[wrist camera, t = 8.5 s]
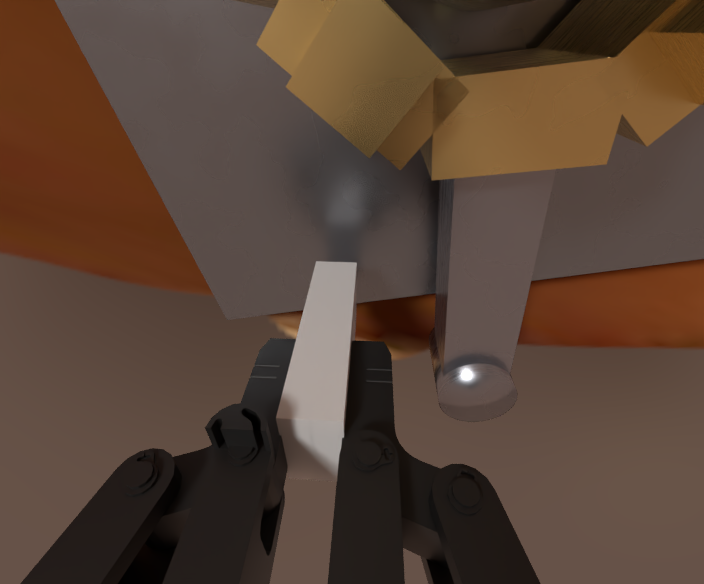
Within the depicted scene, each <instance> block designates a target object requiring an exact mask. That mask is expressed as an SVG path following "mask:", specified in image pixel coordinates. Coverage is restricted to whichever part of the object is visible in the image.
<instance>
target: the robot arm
mask: <svg viewBox="0 0 704 584" xmlns="http://www.w3.org/2000/svg"><path fill="white" fill-rule="evenodd" d="M356 285H357V263H355V262H322V261H316V264H315V268H314V272H313V276H312V280H311V283H310V287H309V291H308V295H307V299H306V303H305V307H304V311H303V315H302V318H301V322H300V326H299V330H298V334H297V338H296V339H276V338H275V339H274V338H271V339H270V340H269V341H268V342H267V343H266V344H265V345H264V346H263V347H262V348H261V349H260V351H259V354H258V357H257V359H256V362H255V367H254V368H253V370H252V373H251V378H250V379H249V382H248V384H247V387H246V390H245V393H244V395H243V398H242V401H241V403H240V404H233V405H231V406H228V407H226V408H224V409H222V410H220V411H219V412H218V413H217V414H216V415H214V416H213V417H212V418H211V420H210V421H209V423H208V424H207V426H206V427H205V429H206V431H207V433H208V436H209V438H210V440H211V443H212V445H211V446H209V447H207V448H204V449H201V450H198V451H194V452H190V453H187V454H183V455H179V456H175V457H172V455H171V454H169V453H168V452H166V451H165V450H163V449H154V448H153V449H149V450H144V451H140V452H138V453H137V454H135V455H133V456H131V457H129V458H128V459H127V460H125V461H124V462H123V463H122V464H121V465H120V466H119V467H118V468H117V469H116V470H115V471H114V472H113V474H112V475H111V476H110V477H109V478H108V480H107V481H106V482H105V483H104V484H103V486H102V487H101V488H100V489H99V490H98V492H97V493H96V494H95V495H94V497H93V498H92V499H91V500H90V501H89V502H88V504H87V505H86V506H85V507H84V508H83V510H82V511H81V512H80V513H79V514H78V516H77V517H76V518H75V519H74V520H73V522H72V523H71V524H70V525H69V526H68V527H67V529H66V530H65V531H64V532H63V533H62V535H61V536H60V537H59V538H58V539H57V541H56V542H55V543H54V544H53V546H52V547H51V548H50V549H49V550H48V551H47V553H46V554H45V555H44V556H43V557H42V559H41V560H40V561H39V563H38V564H37V565H36V566H35V567H34V568H33V569H32V571H31V572H30V573H29V574H28V576H27V577H26V578H25V579H24V580H23V581H22V583H21V584H269V583H270V577H271V572H272V567H273V562H274V556H275V551H276V546H277V540H278V535H279V530H280V524H281V519H282V514H283V509H284V502H285V501H284V499H285V495H284V490H283V488H284V483H285V478H286V473H288V477H289V479H304V480H322V481H337V486H336V497H335V509H334V519H333V530H332V531H333V532H332V542H331V553H330V564H329V575H328V576H329V577H328V584H405V581H404V561H403V548H405V549H407V550H409V551H411V552H413V553H416V554H417V555H420V556H421V559H422V562H423V566H424V569H425V573H426V576H427V580H428V583H429V584H540V582H539V580H538V578H537V576H536V573H535V571H534V569H533V567H532V565H531V563H530V561H529V559H528V557H527V555H526V553H525V551H524V549H523V547H522V545H521V543H520V541H519V539H518V537H517V534H516V532H515V530H514V528H513V526H512V524H511V522H510V520H509V518H508V516H507V514H506V512H505V510H504V508H503V506H502V504H501V502H500V500H499V498H498V495H497V493H496V491H495V489H494V488H493V486H492V485H491V483H490V482H489V481H488V479H487V478H486V477H485V476H484V475H482V474H481V473H480V472H479V471H478V470H476V469H475V468H472V467H470V466H467V465H464V464H451V465H448V466H446V467H444V468H442V469H440V468H437V467H434V466H432V465H430V464H427V463H425V462H422V461H420V460H418V459H416V458H414V457H412V456H411V455H409V454H408V453H407V452H406V451H405V450H404V449H403V447H402V446H401V445H400V443H399V441H398V439H397V437H396V433H395V427H394V405H393V384H392V361H391V353H390V352H389V350H388V348H387V346H386V345H385V343H384V342H375V341H355V328H356Z"/></svg>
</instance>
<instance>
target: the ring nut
mask: <svg viewBox="0 0 704 584" xmlns="http://www.w3.org/2000/svg"><path fill="white" fill-rule="evenodd" d="M234 1H239V2H244V3H249V4H254V5H259V6H264V7H269V8H274V11H273V13H272V15H271V17H270V19H269V21H268V23H267V25H266V27H265V28H264V30H263V32H262V34H261V36H260V38H259V40H258V42H257V44H256V45H257V46H258V47H259V48H260V49H261V50H262V51H264V52H265V53H266V54H267V55H268V56H269V57H271V58H272V59H273V60H274V61H275V62H276V63H277V64H279V65H280V66H281V67H282V68H283V69H284V70H285V71H287V72H288V73H289V74H290V75H291V76H292V77H291V79H290V80H289V82H288V84H287V85H286V88H287V89H288V90H290V91H291V92H292V93H293V94H294V95H295V96H297V97H298V98H299V99H300V100H301V101H303V102H304V103H305V104H306V105H307V106H308V107H310V108H311V109H312V110H313V111H314V112H315V113H317V114H318V115H319V116H320V117H321V118H322V119H324V120H325V121H326V122H327V123H328V124H329V125H331V126H332V127H333V128H334V129H335V130H337V131H338V132H339V133H340V134H341V135H342V136H344V137H345V138H346V139H347V140H348V141H349V142H351V143H352V144H353V145H354V146H355V147H356V148H358V149H359V150H360V151H361V152H362V153H363V154H365V155H366V156H367V157H368V158H369V159H370V157H371V156H372V155H373V154H374V152H375V151H376V150H377V151H378V152H380V153H381V154H382V155H383V156H384V157H385V158H386V159H388V160H389V161H390V162H391V163H392V164H393V165H394V166H396V167H397V168H398V169H399V170H401V169H402V168H403V167H404V166H405V165H406V163H407V162H408V161H409V160H410V159H411V158H412V157H413V156H414V154H415V153H416V152H417V151H418V150H419V149H420V150H421V153H422V156H423V158H424V161H425V164H426V166H427V169H428V172H429V175H430V177H431V180H439V210H438V241H437V272H436V302H435V327H434V328H433V330H432V331H431V333H430V336H429V347H430V352H431V358H432V365H433V371H434V377H435V382H436V388H437V394H438V400H439V405H440V408H441V409H442V411H443V412H444V413H445V414H447V415H448V416H450V417H452V418H454V419H457V420H461V421H468V422H478V421H485V420H490V419H493V418H496V417H498V416H501V415H502V414H504V413H506V412H507V411H508V410H510V408H512V406H513V405H514V404H515V402H516V400H517V390H516V388H515V385H514V382H513V380H512V377H511V375H510V373H511V368H512V364H513V359H514V354H515V350H516V346H517V342H518V337H519V333H520V328H521V324H522V319H523V315H524V310H525V306H526V301H527V297H528V293H529V288H530V284H531V279H532V275H533V270H534V266H535V261H536V257H537V252H538V248H539V243H540V239H541V235H542V230H543V226H544V221H545V217H546V212H547V208H548V203H549V199H550V194H551V190H552V186H553V181H554V177H555V172H556V169H562V168H573V167H584V166H595V165H606V164H607V161H608V158H609V155H610V152H611V148H612V145H613V142H614V138H615V135H616V134H618V135H621V136H623V137H625V138H628V139H630V140H632V141H635V142H637V143H639V144H641V145H644V146H646V147H647V146H649V145H650V144H651V143H653V142H654V141H655V140H656V139H658V138H659V137H660V136H661V135H663V134H664V133H665V132H667V131H668V130H669V129H670V128H672V127H673V126H674V125H675V124H677V123H678V122H679V121H681V120H682V119H683V118H684V117H686V116H687V115H688V114H689V113H691V112H692V111H693V110H695V109H696V108H697V107H698V106H700V105H704V0H581V1H580V2H579V3H578V4H577V5H576V6H575V7H574V8H573V10H572V11H571V12H570V13H569V14H568V15H567V16H566V17H565V18H564V19H563V20H562V21H561V22H560V24H559V25H558V26H557V27H556V28H555V29H554V30H553V31H552V32H551V33H550V34H549V35H548V37H547V38H546V39H545V40H544V41H543V42H542V43H541V44H540V45H539V46H538V47H537V48H533V49H525V50H517V51H509V52H501V53H494V54H486V55H478V56H470V57H462V58H455V59H447V60H440V59H439V58H438V57H437V56H436V55H435V54H434V53H433V52H432V51H431V50H430V49H429V48H428V47H427V46H426V45H425V43H424V42H423V41H422V40H421V39H420V38H419V37H418V36H417V35H416V34H415V33H414V32H413V31H412V30H411V28H410V27H409V26H408V25H407V24H406V23H405V22H404V21H403V20H402V19H401V18H400V17H399V16H398V15H397V13H396V12H395V11H394V10H393V9H392V8H391V7H390V6H389V5H388V4H387V3H386V2H385V1H384V0H234Z"/></svg>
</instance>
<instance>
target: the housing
mask: <svg viewBox="0 0 704 584" xmlns="http://www.w3.org/2000/svg"><path fill="white" fill-rule="evenodd" d="M384 1H385V2H386V3H387V4H388V5H389V6H390V7H391V8H392V9H393V10H394V11H395V12H396V13H397V15H398V16H399V17H400V18H401V19H402V20H403V21H404V22H405V23H406V24H407V25H408V26H409V27H410V28H411V30H412V31H413V32H414V33H415V34H416V35H417V36H418V37H419V38H420V39H421V40H422V41H423V42H424V43H425V45H426V46H427V47H428V48H429V49H430V50H431V51H432V52H433V53H434V54H435V55H436V56H437V57H438V58H439V59H440V60H447V59H455V58H462V57H470V56H478V55H486V54H494V53H501V52H509V51H517V50H525V49H533V48H537V47H538V46H539V45H540V44H541V43H542V42H543V41H544V40H545V39H546V38H547V37H548V35H549V34H550V33H551V32H552V31H553V30H554V29H555V28H556V27H557V26H558V25H559V24H560V22H561V21H562V20H563V19H564V18H565V17H566V16H567V15H568V14H569V13H570V12H571V11H572V10H573V8H574V7H575V6H576V5H577V4H578V3H579V2H580V1H581V0H384ZM55 2H56V4H57V6H58V7H59V9H60V11H61V13H62V15H63V17H64V19H65V20H66V22H67V24H68V26H69V28H70V30H71V31H72V33H73V35H74V37H75V39H76V41H77V43H78V44H79V46H80V48H81V50H82V52H83V54H84V56H85V57H86V59H87V61H88V63H89V65H90V67H91V69H92V70H93V72H94V74H95V76H96V78H97V80H98V81H99V83H100V85H101V87H102V89H103V91H104V93H105V94H106V96H107V98H108V100H109V102H110V104H111V106H112V107H113V109H114V111H115V113H116V115H117V117H118V119H119V120H120V122H121V124H122V126H123V128H124V130H125V132H126V133H127V135H128V137H129V139H130V141H131V143H132V144H133V146H134V148H135V150H136V152H137V154H138V156H139V157H140V159H141V161H142V163H143V165H144V167H145V169H146V170H147V172H148V174H149V176H150V178H151V180H152V182H153V183H154V185H155V187H156V189H157V191H158V193H159V194H160V196H161V198H162V200H163V202H164V204H165V206H166V207H167V209H168V211H169V213H170V215H171V217H172V219H173V220H174V222H175V224H176V226H177V228H178V230H179V232H180V233H181V235H182V237H183V239H184V241H185V243H186V244H187V246H188V248H189V250H190V252H191V254H192V256H193V257H194V259H195V261H196V263H197V265H198V267H199V269H200V270H201V272H202V274H203V276H204V278H205V280H206V282H207V283H208V285H209V287H210V289H211V291H212V293H213V295H214V296H215V298H216V300H217V302H218V304H219V305H220V307H221V309H222V311H223V313H224V315H225V317H226V319H227V320H230V319H238V318H246V317H253V316H261V315H269V314H277V313H285V312H293V311H300V310H304V307H305V303H306V299H307V295H308V291H309V287H310V283H311V280H312V276H313V272H314V268H315V264H316V261H322V262H355V263H357V285H356V303H363V302H371V301H378V300H386V299H394V298H402V297H410V296H417V295H425V294H433V293H436V272H437V241H438V210H439V180H431V177H430V175H429V172H428V169H427V166H426V164H425V161H424V158H423V156H422V153H421V150H420V149H419V150H418V151H417V152H416V153H415V154H414V156H413V157H412V158H411V159H410V160H409V161H408V162H407V163H406V165H405V166H404V167H403V168H402V169H401V170H399V169H398V168H397V167H396V166H394V165H393V164H392V163H391V162H390V161H389V160H388V159H386V158H385V157H384V156H383V155H382V154H381V153H380V152H378V151H377V150H376V151H375V152H374V154H373V155H372V156H371V157H370V159H369V158H368V157H367V156H366V155H365V154H363V153H362V152H361V151H360V150H359V149H358V148H356V147H355V146H354V145H353V144H352V143H351V142H349V141H348V140H347V139H346V138H345V137H344V136H342V135H341V134H340V133H339V132H338V131H337V130H335V129H334V128H333V127H332V126H331V125H329V124H328V123H327V122H326V121H325V120H324V119H322V118H321V117H320V116H319V115H318V114H317V113H315V112H314V111H313V110H312V109H311V108H310V107H308V106H307V105H306V104H305V103H304V102H303V101H301V100H300V99H299V98H298V97H297V96H295V95H294V94H293V93H292V92H291V91H290V90H288V89H287V88H286V85H287V84H288V82H289V80H290V79H291V77H292V76H291V75H290V74H289V73H288V72H287V71H285V70H284V69H283V68H282V67H281V66H280V65H279V64H277V63H276V62H275V61H274V60H273V59H272V58H271V57H269V56H268V55H267V54H266V53H265V52H264V51H262V50H261V49H260V48H259V47H258V46H257V45H256V44H257V42H258V40H259V38H260V36H261V34H262V32H263V30H264V28H265V27H266V25H267V23H268V21H269V19H270V17H271V15H272V13H273V11H274V8H269V7H264V6H259V5H254V4H249V3H244V2H239V1H234V0H55ZM698 259H704V105H700V106H698V107H697V108H696V109H695V110H693V111H692V112H691V113H689V114H688V115H687V116H686V117H684V118H683V119H682V120H681V121H679V122H678V123H677V124H675V125H674V126H673V127H672V128H670V129H669V130H668V131H667V132H665V133H664V134H663V135H661V136H660V137H659V138H658V139H656V140H655V141H654V142H653V143H651V144H650V145H649V146H647V147H646V146H644V145H641V144H639V143H637V142H635V141H632V140H630V139H628V138H625V137H623V136H621V135H618V134H616V135H615V138H614V142H613V145H612V148H611V152H610V155H609V158H608V161H607V164H606V165H595V166H584V167H573V168H562V169H556V172H555V177H554V181H553V186H552V190H551V194H550V199H549V203H548V208H547V212H546V217H545V221H544V226H543V230H542V235H541V239H540V243H539V248H538V252H537V257H536V261H535V266H534V270H533V275H532V279H531V281H534V280H542V279H550V278H558V277H566V276H573V275H581V274H589V273H597V272H605V271H612V270H620V269H628V268H636V267H644V266H651V265H659V264H667V263H675V262H683V261H690V260H698Z"/></svg>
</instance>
